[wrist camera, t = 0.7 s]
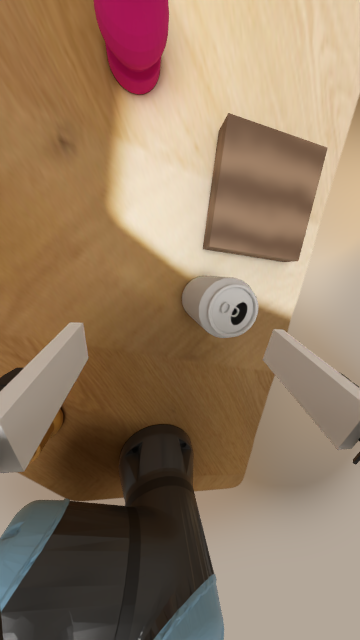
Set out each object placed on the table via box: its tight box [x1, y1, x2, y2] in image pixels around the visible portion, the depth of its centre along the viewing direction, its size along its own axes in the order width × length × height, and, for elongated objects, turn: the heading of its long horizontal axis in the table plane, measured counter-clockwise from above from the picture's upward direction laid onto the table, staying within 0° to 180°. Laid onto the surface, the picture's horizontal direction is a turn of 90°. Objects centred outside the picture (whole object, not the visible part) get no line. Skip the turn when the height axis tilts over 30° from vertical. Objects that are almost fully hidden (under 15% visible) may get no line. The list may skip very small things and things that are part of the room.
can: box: [182, 276, 258, 338], centre depth 26 cm, size 8×8×12 cm
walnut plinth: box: [203, 113, 327, 262], centre depth 28 cm, size 16×16×3 cm
